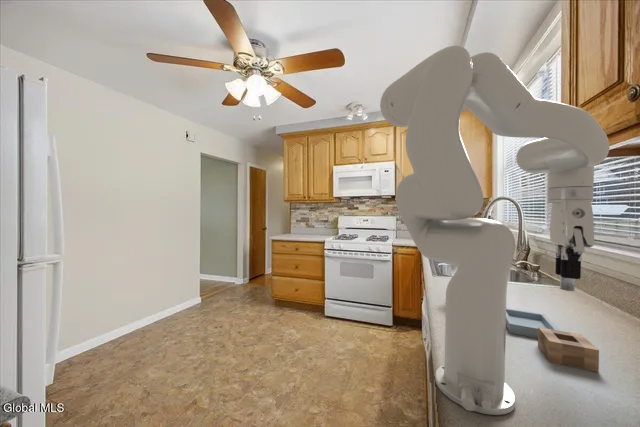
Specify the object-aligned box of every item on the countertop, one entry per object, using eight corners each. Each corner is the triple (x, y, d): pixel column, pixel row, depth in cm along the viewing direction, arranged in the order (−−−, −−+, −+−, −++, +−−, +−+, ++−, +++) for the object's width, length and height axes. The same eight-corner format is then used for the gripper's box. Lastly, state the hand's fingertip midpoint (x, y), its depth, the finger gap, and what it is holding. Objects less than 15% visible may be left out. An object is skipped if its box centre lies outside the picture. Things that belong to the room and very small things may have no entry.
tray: (561, 342, 66) (561, 332, 66) (509, 332, 71) (509, 323, 71) (543, 322, 79) (544, 314, 79) (500, 315, 84) (500, 307, 84)
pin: (576, 291, 57) (577, 247, 57) (562, 290, 59) (563, 246, 58) (572, 289, 60) (573, 245, 60) (558, 287, 61) (559, 245, 61)
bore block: (598, 372, 54) (599, 350, 54) (548, 361, 57) (549, 341, 57) (580, 353, 61) (581, 334, 61) (537, 345, 64) (538, 327, 64)
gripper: (612, 193, 50) (609, 288, 50) (575, 198, 65) (574, 271, 65) (561, 194, 54) (559, 282, 54) (537, 198, 68) (536, 268, 68)
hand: (567, 275), depth 59 cm, fingers closed on pin, 2 cm apart
